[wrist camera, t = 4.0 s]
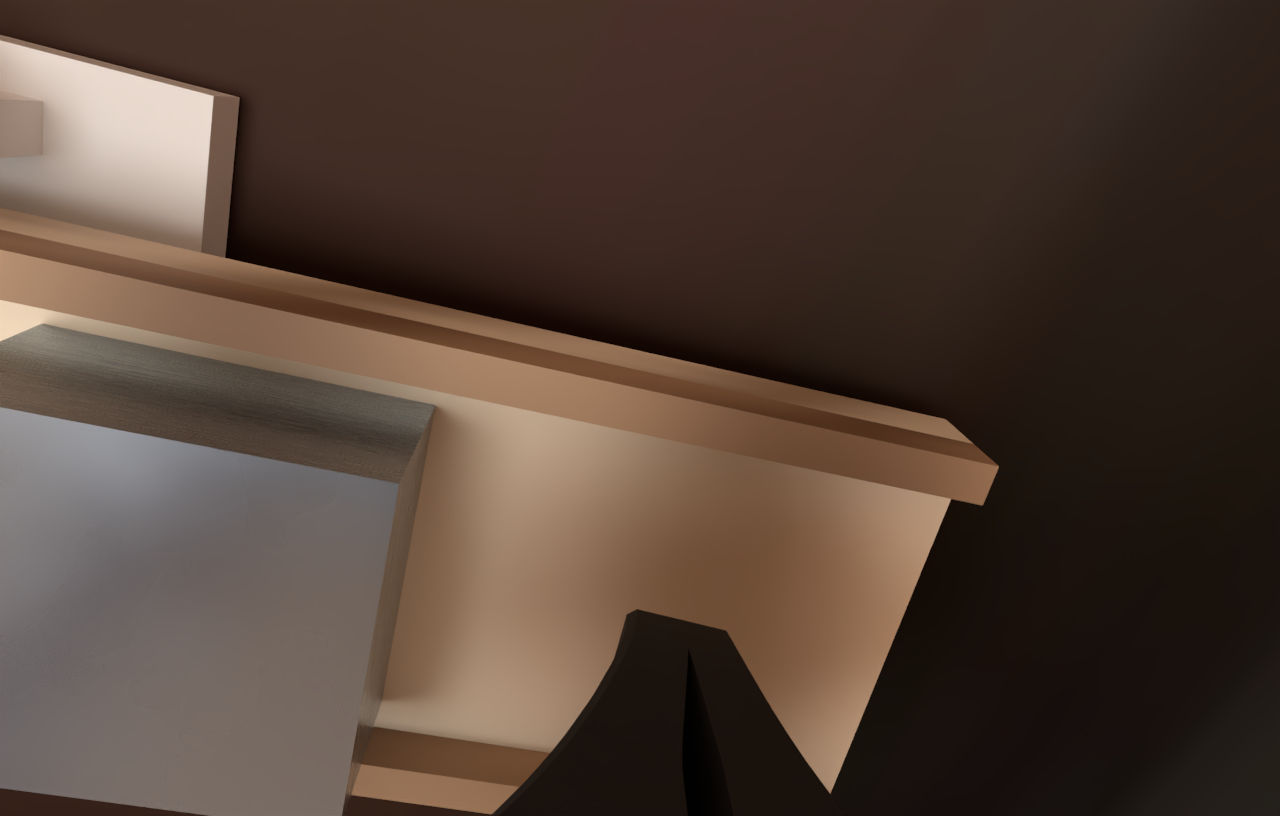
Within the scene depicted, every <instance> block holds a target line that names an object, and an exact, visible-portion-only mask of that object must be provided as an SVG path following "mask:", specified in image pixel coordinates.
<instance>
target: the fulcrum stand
mask: <svg viewBox="0 0 1280 816" xmlns="http://www.w3.org/2000/svg"><path fill="white" fill-rule="evenodd" d="M239 100H240V97H236V96H233V95H229V94H225V93H221V92H217V91H213V90H210V89H206V88H202V87H198V86H194V85H191V84H187V83H183V82H179V81H175V80H171V79H168V78H164V77H160V76H156V75H152V74H148V73H145V72H141V71H137V70H133V69H129V68H126V67H122V66H118V65H114V64H110V63H106V62H103V61H99V60H95V59H91V58H87V57H83V56H80V55H76V54H72V53H68V52H64V51H60V50H57V49H53V48H49V47H45V46H41V45H38V44H34V43H30V42H26V41H22V40H18V39H15V38H11V37H7V36H3V35H0V208H4V209H9V210H13V211H18V212H22V213H27V214H31V215H36V216H40V217H45V218H49V219H53V220H58V221H62V222H67V223H71V224H76V225H80V226H85V227H89V228H94V229H98V230H103V231H107V232H112V233H116V234H120V235H125V236H129V237H134V238H138V239H143V240H147V241H152V242H156V243H161V244H165V245H170V246H174V247H179V248H183V249H187V250H192V251H196V252H201V253H205V254H210V255H214V256H219V257H223V258H225V255H226V244H227V233H228V222H229V211H230V200H231V189H232V178H233V167H234V155H235V144H236V133H237V122H238V111H239Z"/></svg>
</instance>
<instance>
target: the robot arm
mask: <svg viewBox="0 0 1280 816" xmlns="http://www.w3.org/2000/svg"><path fill="white" fill-rule="evenodd" d="M491 816H847V815H846V814H845V812H844V811H843V810H842V809H841V807H840V806H839V805H838V804H837V802H836V801H835V800H834V798H833V797H832V796H831V794H830V793H829V792H828V790H827V789H826V787H825V786H824V785H823V783H822V782H821V781H820V779H819V778H818V776H817V775H816V774H815V772H814V771H813V770H812V768H811V767H810V766H809V764H808V763H807V761H806V760H805V758H804V757H803V756H802V754H801V753H800V751H799V750H798V748H797V747H796V745H795V744H794V742H793V741H792V739H791V738H790V736H789V735H788V733H787V732H786V730H785V729H784V727H783V725H782V724H781V722H780V721H779V719H778V718H777V716H776V714H775V713H774V711H773V710H772V708H771V706H770V705H769V703H768V701H767V700H766V698H765V696H764V695H763V693H762V691H761V689H760V688H759V686H758V684H757V683H756V681H755V679H754V678H753V676H752V674H751V672H750V671H749V669H748V667H747V665H746V664H745V662H744V660H743V658H742V657H741V655H740V653H739V651H738V650H737V648H736V646H735V645H734V643H733V641H732V639H731V638H730V636H729V634H728V633H727V631H726V630H722V629H718V628H714V627H710V626H705V625H701V624H697V623H693V622H689V621H685V620H680V619H676V618H672V617H668V616H664V615H660V614H656V613H651V612H647V611H643V610H639V609H636V610H634V611H632V612H631V613H629V614H627V615H626V619H625V622H624V626H623V629H622V633H621V636H620V640H619V643H618V646H617V650H616V653H615V657H614V659H613V661H612V663H611V665H610V667H609V669H608V670H607V672H606V674H605V675H604V677H603V679H602V681H601V682H600V684H599V686H598V688H597V689H596V691H595V693H594V694H593V696H592V697H591V699H590V700H589V702H588V703H587V705H586V706H585V708H584V709H583V710H582V712H581V713H580V715H579V716H578V717H577V719H576V720H575V722H574V723H573V724H572V726H571V727H570V729H569V730H568V731H567V733H566V734H565V735H564V737H563V738H562V739H561V740H560V742H559V743H558V744H557V745H556V747H555V748H554V749H553V750H552V751H551V753H550V754H549V755H548V756H547V757H546V759H545V760H544V761H543V762H542V763H541V764H540V765H539V766H538V768H537V769H536V770H535V771H534V772H533V773H532V774H531V775H530V777H529V778H528V779H527V780H526V781H525V782H524V783H523V784H522V785H521V786H520V787H519V788H518V789H517V790H516V791H515V792H514V793H513V794H512V795H511V796H510V797H509V798H508V799H507V800H506V801H505V802H504V803H503V804H502V805H501V806H500V807H499V808H498V809H497V810H496V811H495V812H494V813H493V814H492V815H491Z"/></svg>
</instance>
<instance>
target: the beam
mask: <svg viewBox="0 0 1280 816" xmlns="http://www.w3.org/2000/svg"><path fill="white" fill-rule="evenodd" d="M40 324H46V325H51V326H56V327H61V328H66V329H71V330H75V331H80V332H85V333H90V334H95V335H100V336H104V337H109V338H114V339H119V340H124V341H129V342H133V343H138V344H143V345H148V346H153V347H158V348H162V349H167V350H172V351H177V352H182V353H187V354H191V355H196V356H201V357H206V358H211V359H216V360H220V361H225V362H230V363H235V364H240V365H245V366H249V367H254V368H259V369H264V370H269V371H274V372H278V373H283V374H288V375H293V376H298V377H303V378H307V379H312V380H317V381H322V382H327V383H332V384H336V385H341V386H346V387H351V388H356V389H361V390H365V391H370V392H375V393H380V394H385V395H390V396H394V397H399V398H404V399H409V400H414V401H419V402H423V403H428V404H433V405H436V406H435V411H434V417H433V422H432V428H431V433H430V439H429V444H428V450H427V455H426V461H425V466H424V472H423V477H422V483H421V488H420V493H419V499H418V504H417V510H416V515H415V521H414V526H413V532H412V537H411V543H410V548H409V554H408V559H407V565H406V570H405V576H404V581H403V587H402V592H401V598H400V603H399V609H398V614H397V620H396V625H395V631H394V636H393V642H392V647H391V653H390V658H389V664H388V669H387V675H386V680H385V686H384V691H383V697H382V702H381V705H380V708H379V711H378V714H377V717H376V720H375V723H374V726H373V729H372V733H371V736H370V739H369V742H368V745H367V748H366V751H365V754H364V757H363V760H362V763H361V766H360V769H359V772H358V776H357V779H356V782H355V785H354V788H353V791H352V794H351V795H356V796H363V797H370V798H377V799H384V800H392V801H399V802H406V803H413V804H421V805H428V806H435V807H442V808H450V809H457V810H464V811H471V812H478V813H486V814H493V813H494V812H495V811H496V810H497V809H498V808H499V807H500V806H501V805H502V804H503V803H504V802H505V801H506V800H507V799H508V798H509V797H510V796H511V795H512V794H513V793H514V792H515V791H516V790H517V789H518V788H519V787H520V786H521V785H522V784H523V783H524V782H525V781H526V780H527V779H528V778H529V777H530V775H531V774H532V773H533V772H534V771H535V770H536V769H537V768H538V766H539V765H540V764H541V763H542V762H543V761H544V760H545V759H546V757H547V756H548V755H549V754H550V753H551V751H552V750H553V749H554V748H555V747H556V745H557V744H558V743H559V742H560V740H561V739H562V738H563V737H564V735H565V734H566V733H567V731H568V730H569V729H570V727H571V726H572V724H573V723H574V722H575V720H576V719H577V717H578V716H579V715H580V713H581V712H582V710H583V709H584V708H585V706H586V705H587V703H588V702H589V700H590V699H591V697H592V696H593V694H594V693H595V691H596V689H597V688H598V686H599V684H600V682H601V681H602V679H603V677H604V675H605V674H606V672H607V670H608V669H609V667H610V665H611V663H612V661H613V659H614V657H615V653H616V650H617V646H618V643H619V640H620V636H621V633H622V629H623V626H624V622H625V619H626V615H627V614H629V613H631V612H632V611H634V610H636V609H639V610H643V611H647V612H651V613H656V614H660V615H664V616H668V617H672V618H676V619H680V620H685V621H689V622H693V623H697V624H701V625H705V626H710V627H714V628H718V629H722V630H726V631H727V633H728V634H729V636H730V638H731V639H732V641H733V643H734V645H735V646H736V648H737V650H738V651H739V653H740V655H741V657H742V658H743V660H744V662H745V664H746V665H747V667H748V669H749V671H750V672H751V674H752V676H753V678H754V679H755V681H756V683H757V684H758V686H759V688H760V689H761V691H762V693H763V695H764V696H765V698H766V700H767V701H768V703H769V705H770V706H771V708H772V710H773V711H774V713H775V714H776V716H777V718H778V719H779V721H780V722H781V724H782V725H783V727H784V729H785V730H786V732H787V733H788V735H789V736H790V738H791V739H792V741H793V742H794V744H795V745H796V747H797V748H798V750H799V751H800V753H801V754H802V756H803V757H804V758H805V760H806V761H807V763H808V764H809V766H810V767H811V768H812V770H813V771H814V772H815V774H816V775H817V776H818V778H819V779H820V781H821V782H822V783H823V785H824V786H825V787H826V789H827V790H828V792H829V793H831V791H832V789H833V786H834V784H835V781H836V779H837V776H838V774H839V772H840V769H841V767H842V764H843V762H844V759H845V757H846V754H847V752H848V750H849V747H850V745H851V742H852V740H853V737H854V735H855V732H856V730H857V728H858V725H859V723H860V720H861V718H862V715H863V713H864V710H865V708H866V706H867V703H868V701H869V698H870V696H871V693H872V691H873V688H874V686H875V684H876V681H877V679H878V676H879V674H880V671H881V669H882V666H883V664H884V662H885V659H886V657H887V654H888V652H889V649H890V647H891V645H892V642H893V640H894V637H895V635H896V632H897V630H898V627H899V625H900V623H901V620H902V618H903V615H904V613H905V610H906V608H907V605H908V603H909V601H910V598H911V596H912V593H913V591H914V588H915V586H916V583H917V581H918V579H919V576H920V574H921V571H922V569H923V566H924V564H925V561H926V559H927V557H928V554H929V552H930V549H931V547H932V544H933V542H934V539H935V537H936V535H937V532H938V530H939V527H940V525H941V522H942V520H943V518H944V515H945V513H946V510H947V508H948V505H949V503H950V500H951V499H954V500H959V501H964V502H969V503H973V504H978V505H983V504H984V501H985V499H986V496H987V494H988V492H989V489H990V487H991V485H992V482H993V480H994V478H995V475H996V473H997V471H998V468H999V466H998V465H997V464H996V463H994V462H993V461H992V460H991V459H990V458H989V457H988V456H987V455H985V454H984V453H983V452H982V451H981V450H980V449H979V448H978V447H976V446H975V445H974V444H973V443H972V442H971V441H970V440H969V439H967V438H966V437H965V436H964V435H963V434H962V433H961V432H960V431H958V430H957V429H956V428H955V427H954V426H953V425H952V424H950V423H949V422H948V421H947V420H946V419H942V418H938V417H933V416H929V415H924V414H920V413H915V412H911V411H907V410H902V409H898V408H893V407H889V406H884V405H880V404H875V403H871V402H866V401H862V400H857V399H853V398H848V397H844V396H840V395H835V394H831V393H826V392H822V391H817V390H813V389H808V388H804V387H799V386H795V385H790V384H786V383H781V382H777V381H773V380H768V379H764V378H759V377H755V376H750V375H746V374H741V373H737V372H732V371H728V370H723V369H719V368H714V367H710V366H706V365H701V364H697V363H692V362H688V361H683V360H679V359H674V358H670V357H665V356H661V355H656V354H652V353H647V352H643V351H639V350H634V349H630V348H625V347H621V346H616V345H612V344H607V343H603V342H598V341H594V340H589V339H585V338H580V337H576V336H572V335H567V334H563V333H558V332H554V331H549V330H545V329H540V328H536V327H531V326H527V325H522V324H518V323H513V322H509V321H505V320H500V319H496V318H491V317H487V316H482V315H478V314H473V313H469V312H464V311H460V310H455V309H451V308H446V307H442V306H438V305H433V304H429V303H424V302H420V301H415V300H411V299H406V298H402V297H397V296H393V295H388V294H384V293H379V292H375V291H371V290H366V289H362V288H357V287H353V286H348V285H344V284H339V283H335V282H330V281H326V280H321V279H317V278H313V277H308V276H304V275H299V274H295V273H290V272H286V271H281V270H277V269H272V268H268V267H263V266H259V265H254V264H250V263H246V262H241V261H237V260H232V259H228V258H223V257H219V256H214V255H210V254H205V253H201V252H196V251H192V250H187V249H183V248H179V247H174V246H170V245H165V244H161V243H156V242H152V241H147V240H143V239H138V238H134V237H129V236H125V235H120V234H116V233H112V232H107V231H103V230H98V229H94V228H89V227H85V226H80V225H76V224H71V223H67V222H62V221H58V220H53V219H49V218H45V217H40V216H36V215H31V214H27V213H22V212H18V211H13V210H9V209H4V208H0V341H2V340H5V339H7V338H9V337H12V336H14V335H16V334H19V333H21V332H23V331H26V330H28V329H30V328H33V327H35V326H37V325H40Z"/></svg>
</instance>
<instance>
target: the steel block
mask: <svg viewBox="0 0 1280 816" xmlns="http://www.w3.org/2000/svg"><path fill="white" fill-rule="evenodd" d="M435 406H436V405H433V404H428V403H423V402H419V401H414V400H409V399H404V398H399V397H394V396H390V395H385V394H380V393H375V392H370V391H365V390H361V389H356V388H351V387H346V386H341V385H336V384H332V383H327V382H322V381H317V380H312V379H307V378H303V377H298V376H293V375H288V374H283V373H278V372H274V371H269V370H264V369H259V368H254V367H249V366H245V365H240V364H235V363H230V362H225V361H220V360H216V359H211V358H206V357H201V356H196V355H191V354H187V353H182V352H177V351H172V350H167V349H162V348H158V347H153V346H148V345H143V344H138V343H133V342H129V341H124V340H119V339H114V338H109V337H104V336H100V335H95V334H90V333H85V332H80V331H75V330H71V329H66V328H61V327H56V326H51V325H46V324H40V325H37V326H35V327H33V328H30V329H28V330H26V331H23V332H21V333H19V334H16V335H14V336H12V337H9V338H7V339H5V340H2V341H0V788H4V789H12V790H19V791H27V792H34V793H42V794H49V795H57V796H65V797H72V798H80V799H87V800H95V801H103V802H110V803H118V804H125V805H133V806H141V807H148V808H156V809H163V810H171V811H178V812H186V813H194V814H201V815H209V816H344V815H345V812H346V809H347V806H348V803H349V800H350V797H351V794H352V791H353V788H354V785H355V782H356V779H357V776H358V772H359V769H360V766H361V763H362V760H363V757H364V754H365V751H366V748H367V745H368V742H369V739H370V736H371V733H372V729H373V726H374V723H375V720H376V717H377V714H378V711H379V708H380V705H381V702H382V697H383V691H384V686H385V680H386V675H387V669H388V664H389V658H390V653H391V647H392V642H393V636H394V631H395V625H396V620H397V614H398V609H399V603H400V598H401V592H402V587H403V581H404V576H405V570H406V565H407V559H408V554H409V548H410V543H411V537H412V532H413V526H414V521H415V515H416V510H417V504H418V499H419V493H420V488H421V483H422V477H423V472H424V466H425V461H426V455H427V450H428V444H429V439H430V433H431V428H432V422H433V417H434V411H435Z"/></svg>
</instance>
